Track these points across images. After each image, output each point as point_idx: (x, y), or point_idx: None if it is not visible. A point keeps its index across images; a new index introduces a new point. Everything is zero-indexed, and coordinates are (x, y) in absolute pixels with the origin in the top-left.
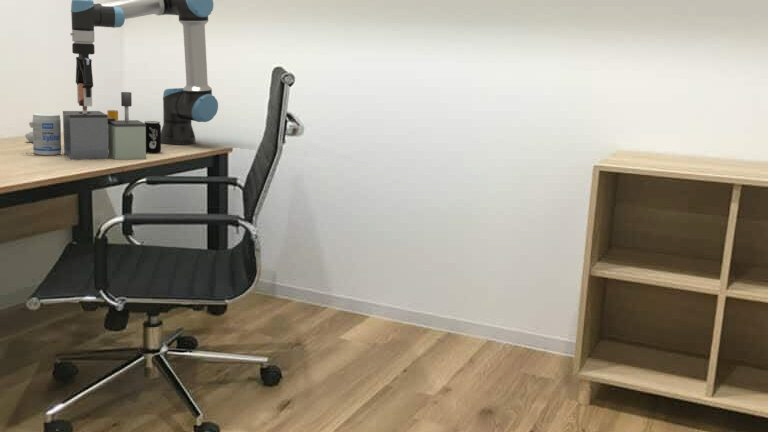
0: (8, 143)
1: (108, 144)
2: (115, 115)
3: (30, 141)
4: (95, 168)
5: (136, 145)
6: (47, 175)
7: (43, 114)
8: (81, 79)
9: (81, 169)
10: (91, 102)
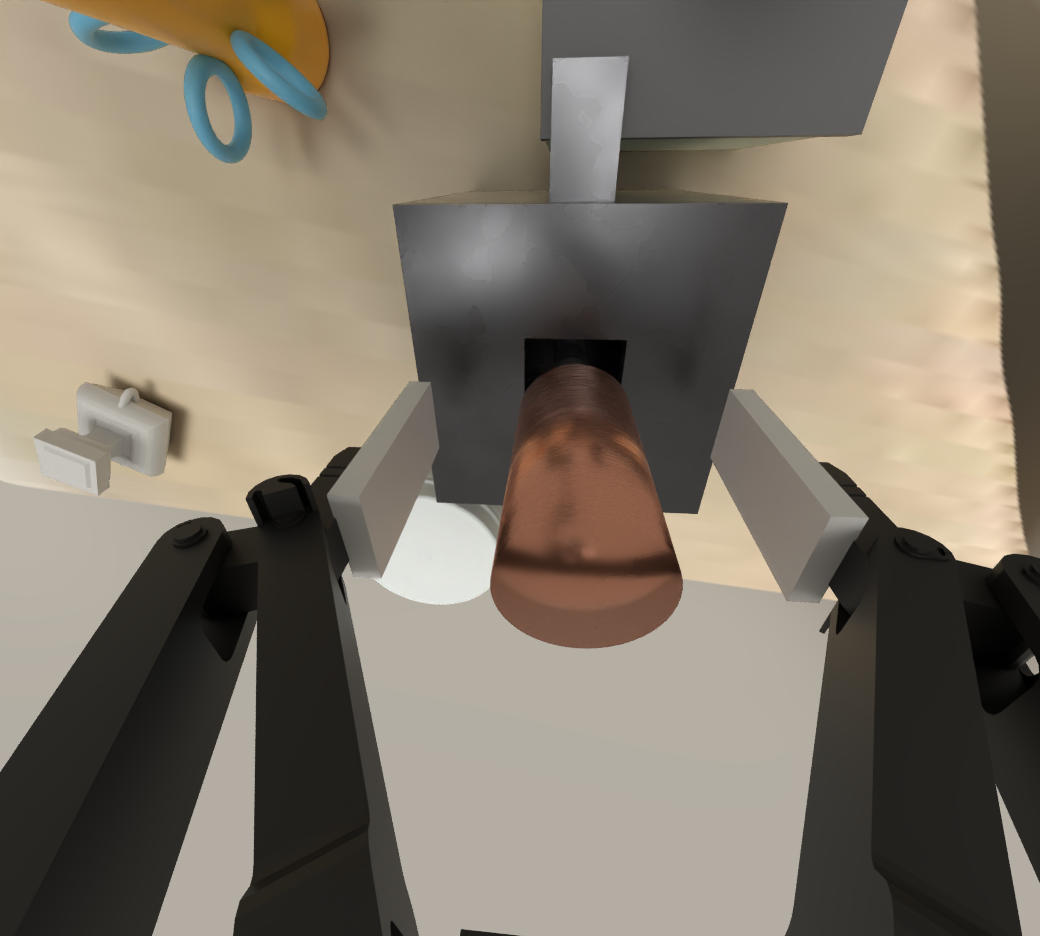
0: (211, 507)
1: (550, 148)
2: None
3: (168, 445)
4: (939, 337)
5: None
6: (951, 523)
7: (441, 571)
8: (347, 622)
9: (919, 398)
10: (768, 415)
